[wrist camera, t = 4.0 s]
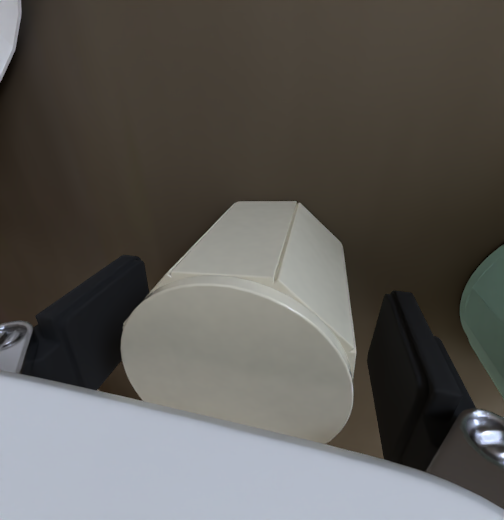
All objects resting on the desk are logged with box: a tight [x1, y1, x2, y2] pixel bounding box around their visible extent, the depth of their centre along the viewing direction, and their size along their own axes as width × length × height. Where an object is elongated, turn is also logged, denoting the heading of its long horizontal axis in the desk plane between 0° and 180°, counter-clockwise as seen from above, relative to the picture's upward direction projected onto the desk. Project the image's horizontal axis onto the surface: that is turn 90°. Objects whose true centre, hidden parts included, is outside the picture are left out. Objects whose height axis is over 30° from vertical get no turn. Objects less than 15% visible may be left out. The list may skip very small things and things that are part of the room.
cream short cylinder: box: [120, 201, 357, 444], centre depth 10 cm, size 6×6×6 cm
